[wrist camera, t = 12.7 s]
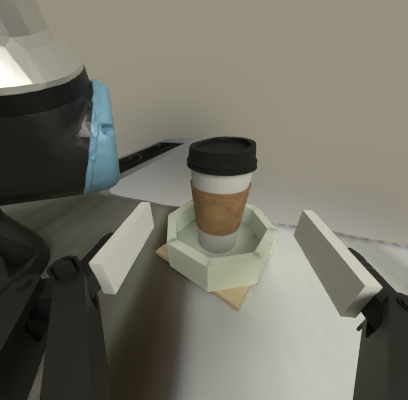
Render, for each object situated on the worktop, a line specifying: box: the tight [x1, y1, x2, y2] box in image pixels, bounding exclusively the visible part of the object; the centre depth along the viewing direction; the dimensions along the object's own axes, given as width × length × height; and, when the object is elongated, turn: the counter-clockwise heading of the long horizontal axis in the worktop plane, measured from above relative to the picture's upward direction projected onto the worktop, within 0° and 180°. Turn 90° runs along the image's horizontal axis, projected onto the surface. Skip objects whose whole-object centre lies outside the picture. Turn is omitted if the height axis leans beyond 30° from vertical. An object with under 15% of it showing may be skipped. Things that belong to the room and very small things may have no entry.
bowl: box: [156, 200, 277, 311], centre depth 25 cm, size 15×15×5 cm
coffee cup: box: [187, 137, 257, 254], centre depth 22 cm, size 8×8×15 cm
